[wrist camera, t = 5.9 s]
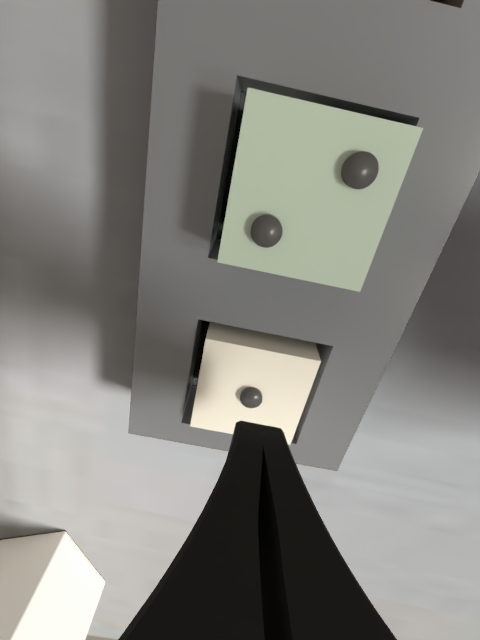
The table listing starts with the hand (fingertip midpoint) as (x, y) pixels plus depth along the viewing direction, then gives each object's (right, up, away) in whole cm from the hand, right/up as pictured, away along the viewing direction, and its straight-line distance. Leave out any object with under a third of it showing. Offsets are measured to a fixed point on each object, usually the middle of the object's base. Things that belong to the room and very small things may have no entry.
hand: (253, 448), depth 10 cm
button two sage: (+2, +8, +2) cm, 9 cm away
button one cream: (0, +2, +5) cm, 5 cm away
